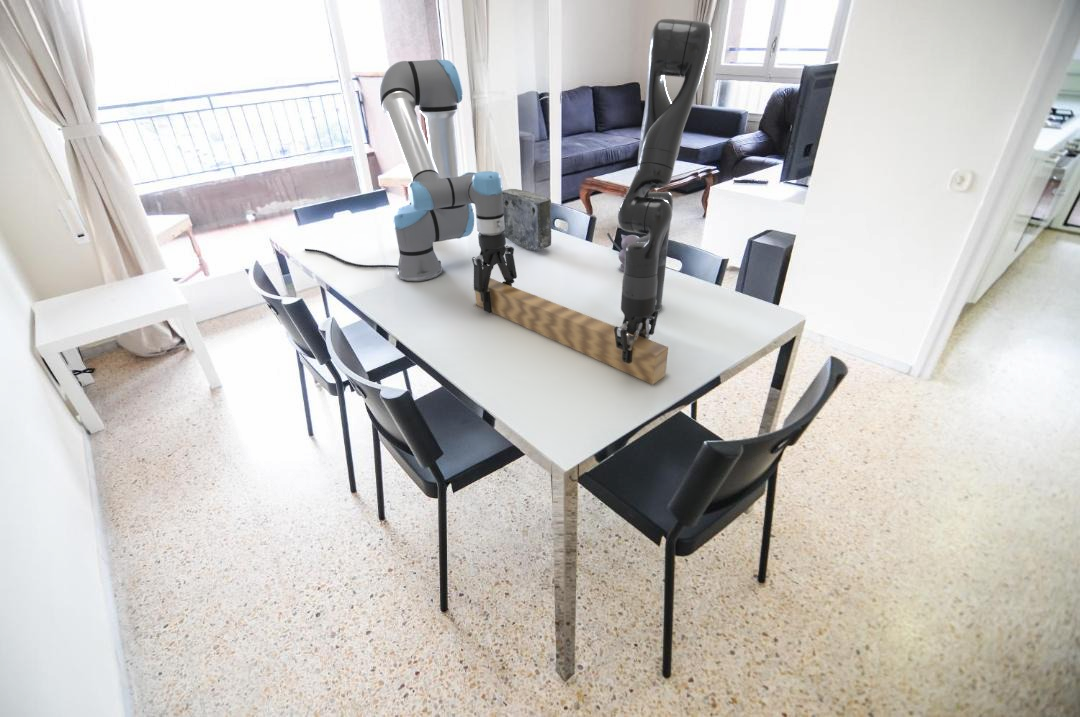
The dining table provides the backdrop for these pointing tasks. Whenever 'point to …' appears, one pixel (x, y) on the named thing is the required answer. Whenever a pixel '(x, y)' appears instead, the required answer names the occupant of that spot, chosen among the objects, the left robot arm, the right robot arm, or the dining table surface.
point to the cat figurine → (625, 242)
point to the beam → (576, 331)
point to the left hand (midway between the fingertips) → (497, 306)
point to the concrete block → (527, 219)
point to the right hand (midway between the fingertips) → (634, 357)
